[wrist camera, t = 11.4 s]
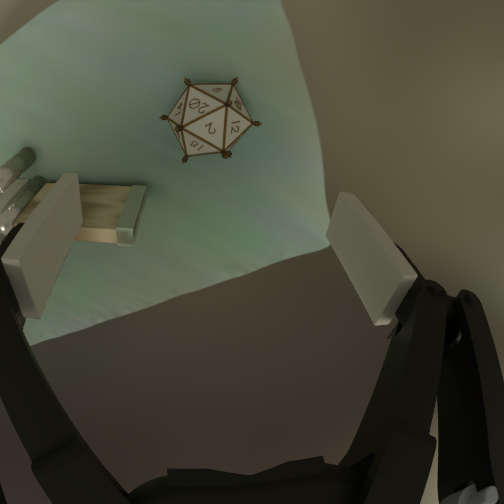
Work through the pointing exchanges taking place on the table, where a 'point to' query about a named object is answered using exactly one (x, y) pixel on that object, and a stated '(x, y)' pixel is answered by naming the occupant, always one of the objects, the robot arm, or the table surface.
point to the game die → (209, 119)
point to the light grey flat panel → (12, 193)
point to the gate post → (19, 205)
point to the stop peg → (15, 167)
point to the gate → (102, 212)
